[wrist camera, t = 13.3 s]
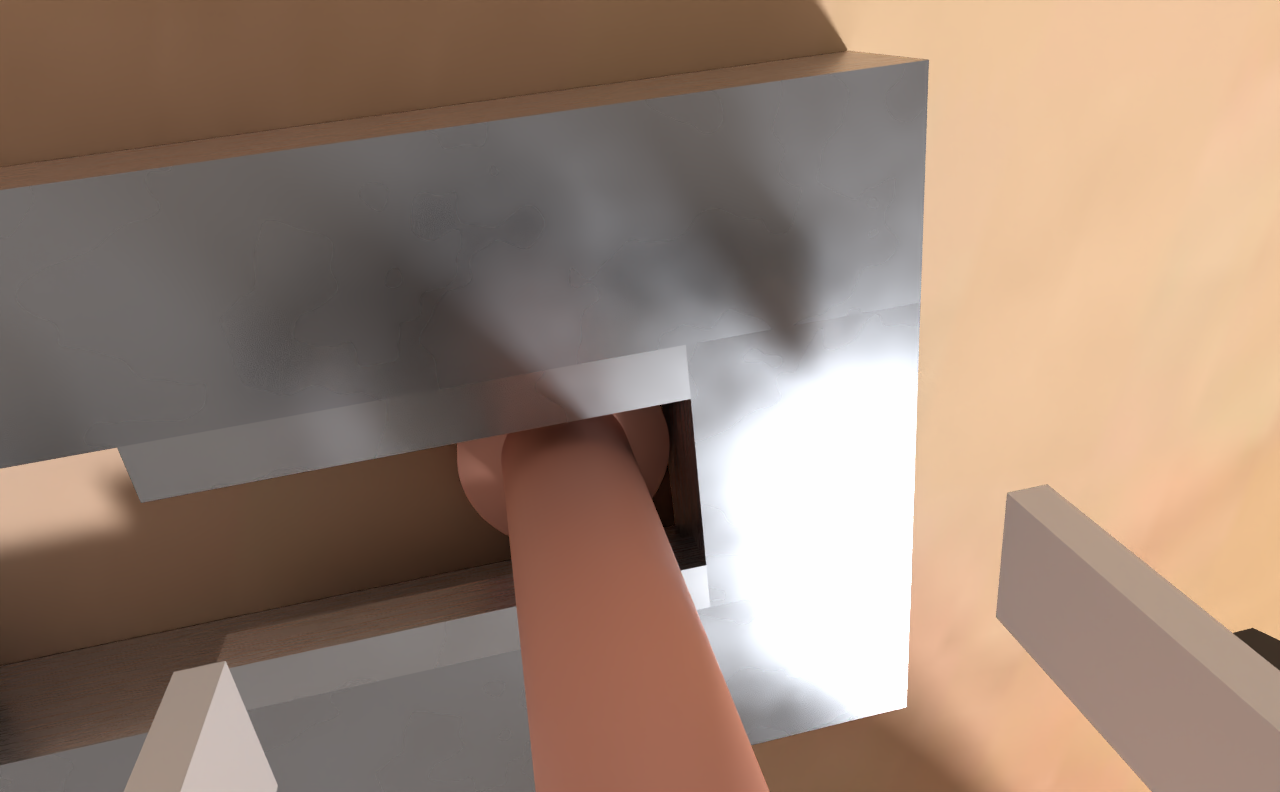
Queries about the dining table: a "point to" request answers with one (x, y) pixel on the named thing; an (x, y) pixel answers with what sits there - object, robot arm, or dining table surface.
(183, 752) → the robot arm
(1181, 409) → the dining table surface
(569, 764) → the stud
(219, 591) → the dining table surface
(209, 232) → the grey slotted plate
